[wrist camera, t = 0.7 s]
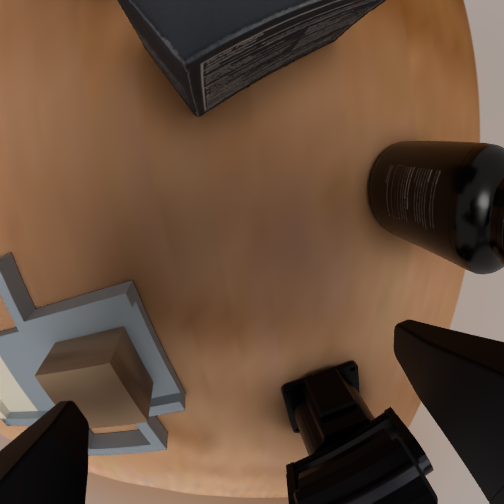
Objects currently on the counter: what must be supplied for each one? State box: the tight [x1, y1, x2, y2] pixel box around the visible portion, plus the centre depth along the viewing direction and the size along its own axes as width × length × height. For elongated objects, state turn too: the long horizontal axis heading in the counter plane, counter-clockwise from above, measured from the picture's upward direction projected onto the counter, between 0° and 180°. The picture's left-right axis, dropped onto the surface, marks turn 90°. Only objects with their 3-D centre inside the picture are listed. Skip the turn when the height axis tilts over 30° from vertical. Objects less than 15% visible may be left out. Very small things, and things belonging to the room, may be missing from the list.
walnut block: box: [35, 326, 154, 428], centre depth 17 cm, size 5×6×4 cm
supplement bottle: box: [370, 141, 504, 274], centre depth 14 cm, size 7×7×12 cm
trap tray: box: [0, 253, 185, 456], centre depth 19 cm, size 20×19×2 cm
